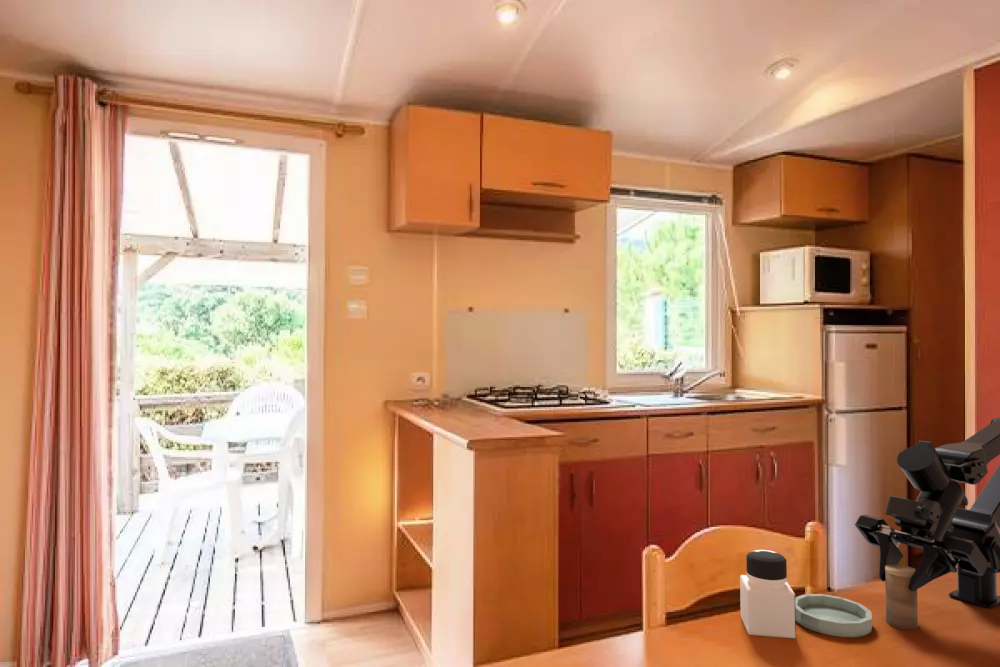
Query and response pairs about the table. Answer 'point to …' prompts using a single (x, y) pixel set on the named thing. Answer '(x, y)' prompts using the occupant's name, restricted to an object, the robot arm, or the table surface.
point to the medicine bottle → (767, 596)
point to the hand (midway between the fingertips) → (895, 584)
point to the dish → (833, 615)
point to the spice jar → (900, 597)
